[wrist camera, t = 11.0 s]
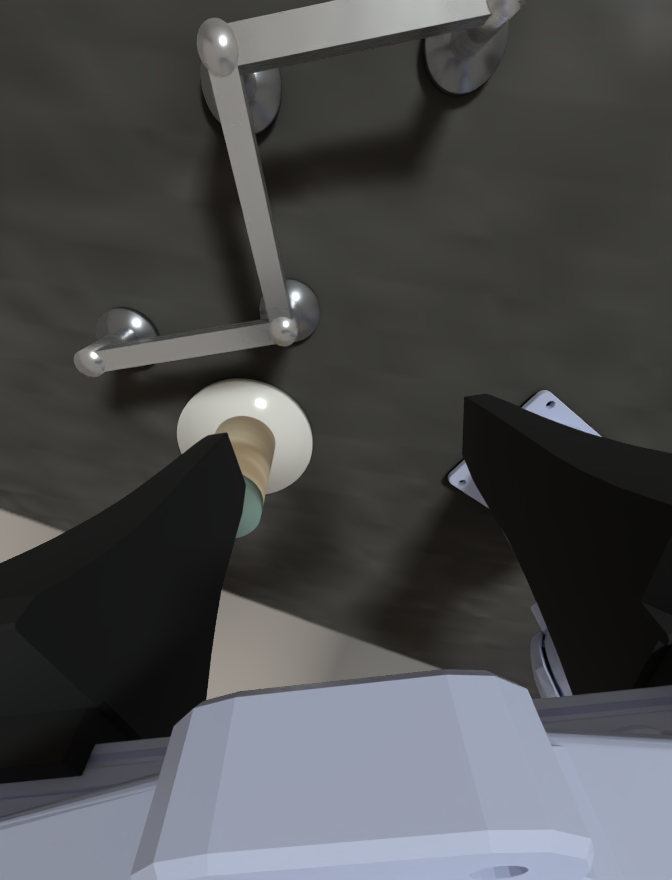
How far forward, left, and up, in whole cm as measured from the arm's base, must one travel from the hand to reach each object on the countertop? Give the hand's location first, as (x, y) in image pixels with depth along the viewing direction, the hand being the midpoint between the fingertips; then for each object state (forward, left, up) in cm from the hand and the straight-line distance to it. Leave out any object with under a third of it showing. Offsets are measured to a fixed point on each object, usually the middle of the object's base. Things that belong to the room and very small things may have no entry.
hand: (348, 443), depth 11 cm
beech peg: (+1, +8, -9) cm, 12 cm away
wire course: (+5, -3, -10) cm, 12 cm away
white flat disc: (+1, +8, -10) cm, 13 cm away
